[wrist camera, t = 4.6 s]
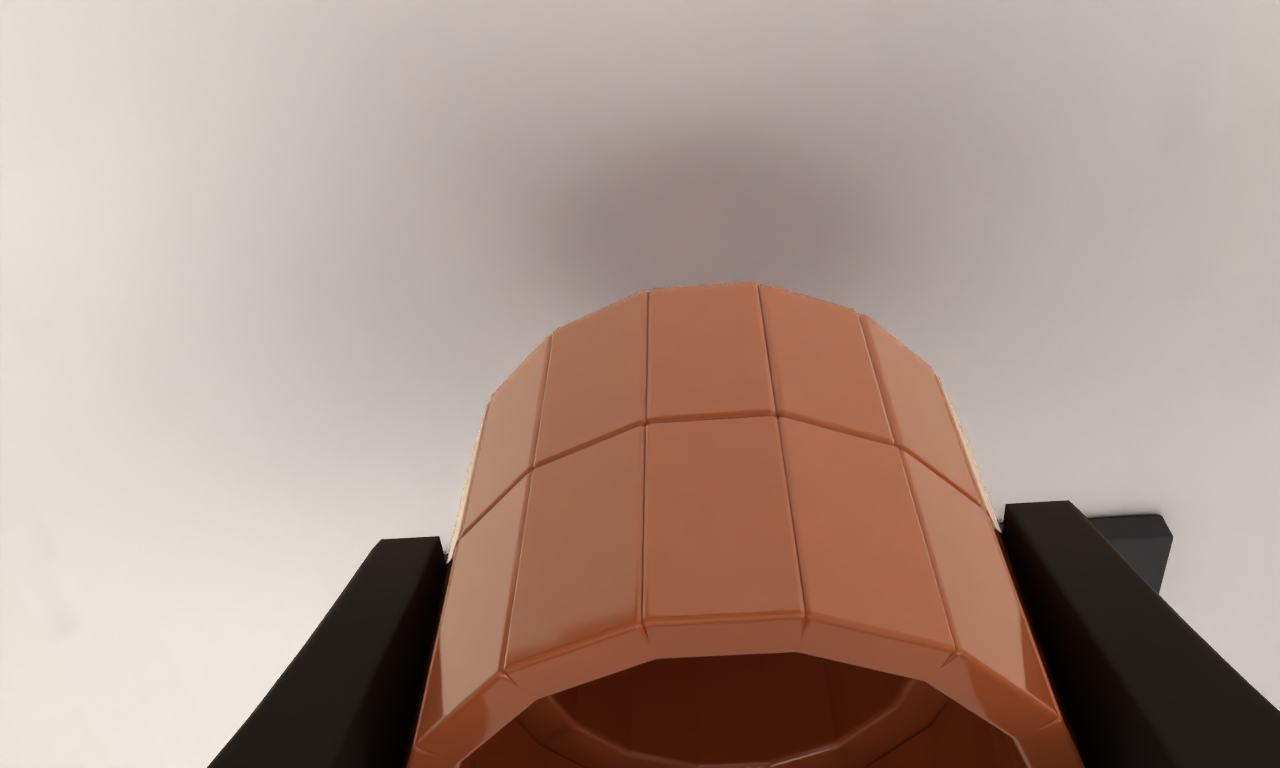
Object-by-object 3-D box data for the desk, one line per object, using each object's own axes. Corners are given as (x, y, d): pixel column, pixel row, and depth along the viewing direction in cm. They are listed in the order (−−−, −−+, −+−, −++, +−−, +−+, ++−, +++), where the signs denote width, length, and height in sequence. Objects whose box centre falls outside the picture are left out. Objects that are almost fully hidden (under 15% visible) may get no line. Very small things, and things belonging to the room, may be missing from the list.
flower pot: (974, 238, 11) (1152, 597, 7) (938, 618, 14) (1049, 1016, 10) (436, 277, 12) (313, 638, 8) (517, 639, 15) (462, 1032, 11)
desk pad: (1161, 513, 20) (1174, 537, 19) (1084, 834, 26) (1091, 858, 25) (401, 557, 21) (394, 580, 20) (490, 858, 27) (487, 881, 26)
